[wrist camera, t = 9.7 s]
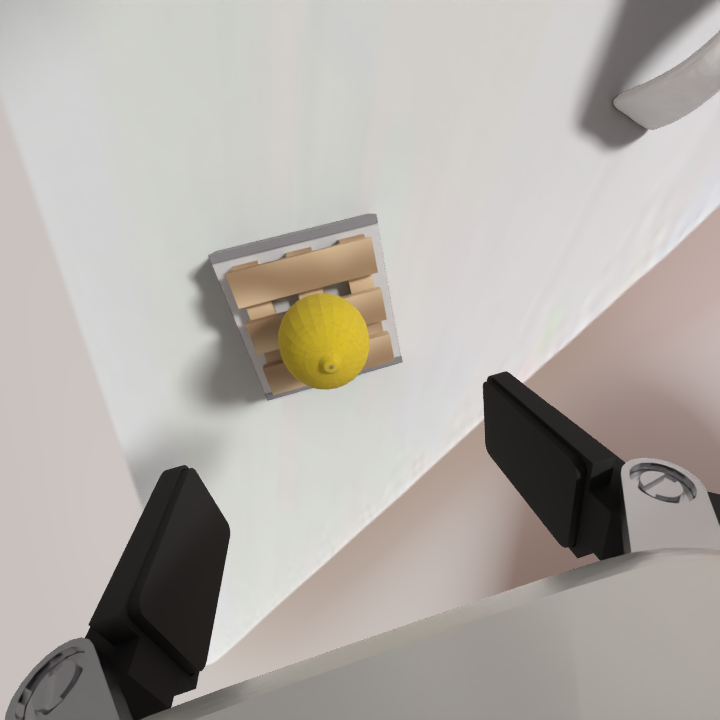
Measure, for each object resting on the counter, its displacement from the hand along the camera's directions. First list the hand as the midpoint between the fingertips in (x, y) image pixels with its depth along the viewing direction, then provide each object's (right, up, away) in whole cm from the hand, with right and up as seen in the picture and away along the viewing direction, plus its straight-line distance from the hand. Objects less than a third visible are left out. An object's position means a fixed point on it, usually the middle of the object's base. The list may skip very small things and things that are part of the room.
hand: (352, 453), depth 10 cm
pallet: (-3, +6, +15) cm, 17 cm away
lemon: (-3, +6, +14) cm, 15 cm away
